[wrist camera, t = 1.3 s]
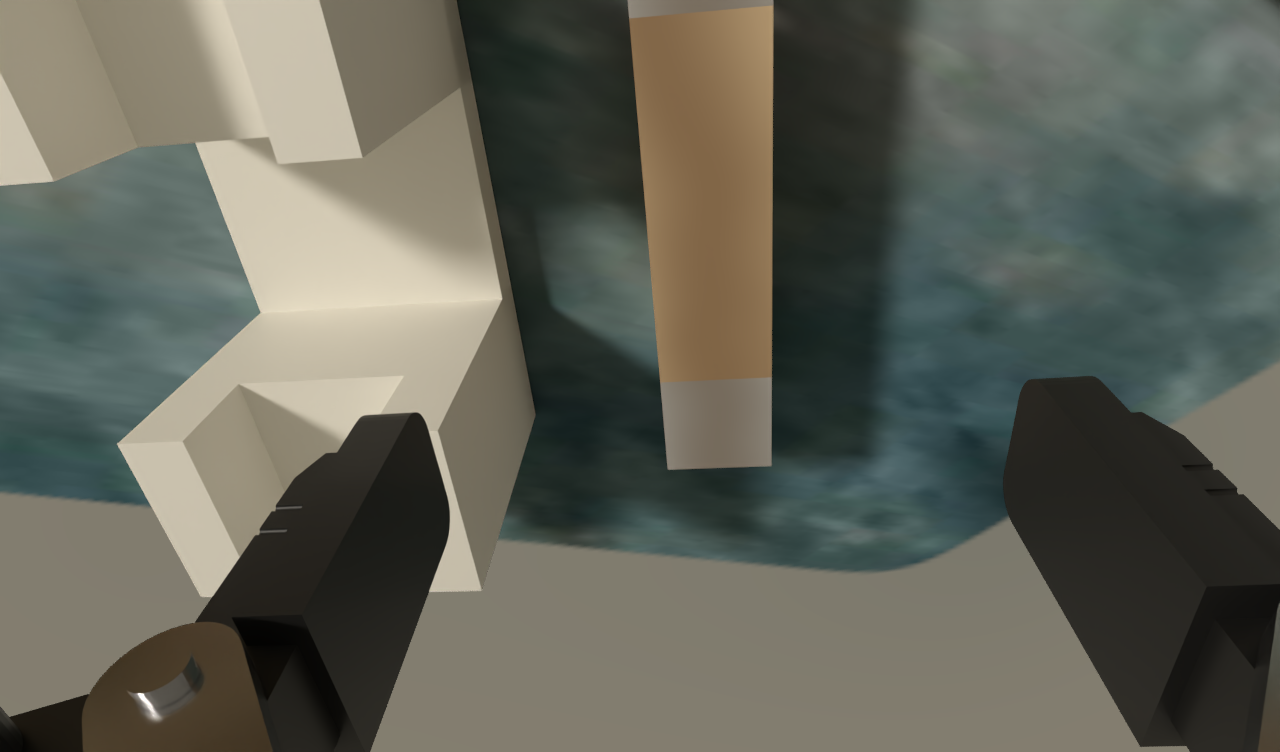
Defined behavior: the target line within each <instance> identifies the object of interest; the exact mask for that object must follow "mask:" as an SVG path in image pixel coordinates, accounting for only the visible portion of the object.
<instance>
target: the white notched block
mask: <svg viewBox="0 0 1280 752" xmlns="http://www.w3.org/2000/svg"><path fill="white" fill-rule="evenodd" d="M186 143H196V146H197V149H198V151H199V154H200V156H201V159H202V161H203V164H204V167H205V169H206V172H207V174H208V177H209V180H210V182H211V185H212V187H213V190H214V193H215V195H216V198H217V200H218V203H219V206H220V208H221V211H222V213H223V216H224V219H225V221H226V224H227V226H228V229H229V232H230V234H231V237H232V239H233V242H234V244H235V247H236V250H237V252H238V255H239V257H240V260H241V263H242V265H243V268H244V270H245V273H246V276H247V278H248V281H249V283H250V286H251V289H252V291H253V294H254V296H255V299H256V302H257V304H258V307H259V309H260V312H261V313H260V314H259V315H258V316H257V317H256V318H255V319H254V320H252V321H251V322H250V323H249V324H248V325H247V326H246V327H245V328H244V329H243V330H242V331H240V332H239V333H238V334H237V335H236V336H235V337H234V338H233V339H232V340H231V341H229V342H228V343H227V344H226V345H225V346H224V347H223V348H222V349H221V350H220V351H219V352H217V353H216V354H215V355H214V356H213V357H212V358H211V359H210V360H209V361H208V362H206V363H205V364H204V365H203V366H202V367H201V368H200V369H199V370H198V371H197V372H196V373H194V374H193V375H192V376H191V377H190V378H189V379H188V380H187V381H186V382H185V383H183V384H182V385H181V386H180V387H179V388H178V389H177V390H176V391H175V392H174V393H172V394H171V395H170V396H169V397H168V398H167V399H166V400H165V401H164V402H163V403H162V404H160V405H159V406H158V407H157V408H156V409H155V410H154V411H153V412H152V413H151V414H149V415H148V416H147V417H146V418H145V419H144V420H143V421H142V422H141V423H140V424H139V425H137V426H136V427H135V428H134V429H133V430H132V431H131V432H130V433H129V434H128V435H126V436H125V437H124V438H123V439H122V440H121V441H120V442H119V443H118V444H117V445H118V447H119V448H120V450H121V452H122V454H123V456H124V458H125V459H126V461H127V463H128V465H129V467H130V468H131V470H132V472H133V474H134V476H135V478H136V479H137V481H138V483H139V485H140V487H141V488H142V490H143V492H144V494H145V496H146V498H147V499H148V501H149V503H150V505H151V507H152V508H153V510H154V512H155V514H156V516H157V517H158V519H159V521H160V523H161V525H162V527H163V528H164V530H165V532H166V534H167V536H168V537H169V539H170V541H171V543H172V545H173V546H174V548H175V550H176V552H177V554H178V556H179V558H180V559H181V561H182V563H183V565H184V567H185V568H186V570H187V572H188V574H189V576H190V577H191V579H192V581H193V583H194V584H195V587H196V588H197V590H198V592H199V594H200V596H201V597H213V595H214V594H215V592H216V591H217V590H218V588H219V587H220V585H221V584H222V582H223V581H224V579H225V578H226V577H227V575H228V574H229V572H230V571H231V569H232V568H233V566H234V565H235V564H236V562H237V561H238V559H239V558H240V556H241V555H242V553H243V552H244V550H245V549H246V548H247V546H248V545H249V543H250V542H251V540H252V539H253V537H254V536H255V535H259V534H260V530H259V529H260V527H261V526H262V524H263V523H264V521H265V520H266V519H267V517H268V516H269V514H270V513H271V511H275V510H276V504H277V503H278V501H279V500H280V498H281V497H282V495H283V494H284V493H285V491H286V490H287V488H288V487H289V485H290V484H291V482H292V481H293V479H294V478H295V477H296V476H298V475H299V474H300V473H301V472H303V471H304V470H305V469H306V468H308V467H309V466H310V465H311V464H313V463H314V462H315V461H316V460H318V459H319V458H320V457H322V456H323V455H324V454H325V453H337V452H338V450H339V448H340V447H341V445H342V444H343V442H344V441H345V439H346V438H347V436H348V434H349V433H350V431H351V430H352V428H353V427H354V425H355V424H356V422H357V421H358V419H359V418H360V417H362V416H364V415H376V414H393V413H411V412H417V413H419V414H421V415H422V417H423V418H424V420H425V422H426V424H427V427H428V430H429V434H430V437H431V441H432V444H433V448H434V451H435V455H436V458H437V462H438V465H439V469H440V472H441V476H442V479H443V483H444V487H445V490H446V494H447V497H448V502H449V509H450V528H449V536H448V540H447V544H446V547H445V549H444V552H443V555H442V558H441V560H440V563H439V566H438V568H437V571H436V574H435V577H434V579H433V582H432V585H431V587H430V590H429V592H448V591H449V592H450V591H482V589H483V585H484V582H485V579H486V576H487V572H488V569H489V566H490V562H491V559H492V556H493V553H494V550H495V546H496V543H497V540H498V536H499V533H500V530H501V527H502V523H503V520H504V517H505V514H506V510H507V507H508V504H509V501H510V497H511V494H512V491H513V487H514V484H515V481H516V478H517V474H518V471H519V468H520V465H521V461H522V458H523V455H524V451H525V448H526V445H527V442H528V438H529V435H530V432H531V429H532V425H533V422H534V419H535V416H536V414H535V409H534V403H533V398H532V393H531V388H530V383H529V377H528V372H527V367H526V362H525V356H524V351H523V346H522V341H521V335H520V330H519V325H518V320H517V314H516V309H515V304H514V299H513V293H512V288H511V283H510V278H509V273H508V267H507V262H506V257H505V252H504V246H503V241H502V236H501V231H500V225H499V220H498V215H497V210H496V204H495V199H494V194H493V189H492V183H491V178H490V173H489V168H488V162H487V157H486V152H485V147H484V142H483V136H482V131H481V126H480V121H479V115H478V110H477V105H476V100H475V94H474V89H473V84H472V79H471V73H470V68H469V63H468V58H467V52H466V47H465V42H464V37H463V32H462V26H461V21H460V16H459V11H458V5H457V0H0V185H14V184H27V183H40V182H53V181H56V180H59V179H61V178H64V177H66V176H69V175H71V174H74V173H76V172H79V171H81V170H83V169H86V168H88V167H91V166H93V165H96V164H98V163H101V162H103V161H106V160H108V159H111V158H113V157H115V156H118V155H120V154H123V153H125V152H128V151H130V150H133V149H135V148H138V147H149V146H161V145H174V144H186Z"/></svg>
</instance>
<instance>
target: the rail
mask: <svg viewBox="0 0 1280 752" xmlns="http://www.w3.org/2000/svg"><path fill="white" fill-rule="evenodd" d="M628 11H629V23H630V34H631V46H632V58H633V69H634V81H635V93H636V105H637V116H638V128H639V140H640V151H641V163H642V175H643V186H644V198H645V210H646V221H647V233H648V245H649V257H650V268H651V280H652V292H653V303H654V315H655V327H656V338H657V350H658V362H659V373H660V385H661V397H662V409H663V420H664V432H665V444H666V455H667V467H668V470H677V469H704V468H731V467H758V466H771V445H772V211H773V0H628Z"/></svg>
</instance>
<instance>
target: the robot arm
mask: <svg viewBox="0 0 1280 752" xmlns="http://www.w3.org/2000/svg"><path fill="white" fill-rule="evenodd" d="M1003 490H1004V499H1005V504H1006V508H1007V512H1008V515H1009V517H1010V520H1011V522H1012V524H1013V525H1014V527H1015V529H1016V531H1017V532H1018V534H1019V536H1020V538H1021V539H1022V541H1023V543H1024V544H1025V546H1026V548H1027V550H1028V551H1029V553H1030V555H1031V557H1032V558H1033V560H1034V562H1035V564H1036V566H1037V567H1038V569H1039V571H1040V572H1041V574H1042V576H1043V578H1044V579H1045V581H1046V583H1047V585H1048V586H1049V588H1050V590H1051V591H1052V593H1053V595H1054V597H1055V599H1056V600H1057V602H1058V604H1059V606H1060V607H1061V609H1062V611H1063V612H1064V614H1065V616H1066V618H1067V619H1068V621H1069V623H1070V625H1071V627H1072V628H1073V630H1074V632H1075V634H1076V635H1077V637H1078V639H1079V640H1080V642H1081V644H1082V646H1083V648H1084V649H1085V651H1086V653H1087V654H1088V656H1089V658H1090V660H1091V661H1092V663H1093V665H1094V667H1095V668H1096V670H1097V672H1098V674H1099V675H1100V677H1101V679H1102V681H1103V682H1104V684H1105V686H1106V688H1107V689H1108V691H1109V693H1110V694H1111V696H1112V698H1113V700H1114V702H1115V703H1116V705H1117V707H1118V709H1119V710H1120V712H1121V714H1122V715H1123V717H1124V719H1125V721H1126V722H1127V724H1128V726H1129V728H1130V729H1131V731H1132V733H1133V735H1134V736H1135V738H1136V740H1137V742H1138V743H1139V745H1140V747H1147V746H1148V747H1149V746H1187V748H1188V749H1189V751H1190V752H1280V530H1279V529H1278V528H1277V527H1276V526H1275V525H1274V524H1273V523H1272V522H1271V521H1270V520H1269V519H1268V518H1267V517H1266V516H1265V515H1264V514H1263V513H1262V512H1261V511H1260V510H1259V509H1258V508H1257V507H1256V506H1255V505H1254V504H1253V503H1252V502H1251V501H1250V500H1249V499H1248V498H1247V497H1246V496H1245V495H1243V494H1242V495H1238V493H1237V488H1236V486H1235V485H1234V484H1232V483H1231V482H1230V481H1229V480H1228V479H1227V478H1226V477H1225V476H1224V475H1223V474H1222V473H1221V472H1220V471H1219V470H1213V464H1212V463H1211V462H1210V461H1209V460H1208V459H1207V458H1206V457H1205V456H1204V455H1203V454H1202V453H1201V452H1200V451H1199V450H1198V449H1197V448H1196V447H1195V446H1194V445H1193V444H1192V443H1191V442H1190V441H1189V440H1188V439H1187V438H1186V437H1185V436H1184V435H1182V434H1180V433H1179V432H1177V431H1175V430H1173V429H1171V428H1170V427H1168V426H1166V425H1164V424H1162V423H1160V422H1159V421H1157V420H1155V419H1153V418H1151V417H1150V416H1148V415H1146V414H1144V413H1142V412H1136V413H1131V412H1130V411H1129V410H1128V409H1127V408H1126V407H1125V406H1124V405H1123V404H1122V403H1121V401H1120V400H1119V399H1118V398H1117V397H1116V396H1115V395H1114V394H1113V393H1112V392H1111V391H1110V390H1109V389H1108V388H1107V387H1106V386H1105V385H1104V384H1103V383H1102V382H1101V381H1100V380H1099V379H1098V378H1096V377H1093V376H1081V377H1063V378H1045V379H1031V380H1028V381H1027V382H1026V383H1025V384H1024V386H1023V387H1022V390H1021V392H1020V396H1019V401H1018V406H1017V411H1016V416H1015V421H1014V426H1013V431H1012V436H1011V441H1010V446H1009V451H1008V456H1007V461H1006V466H1005V471H1004V478H1003ZM449 528H450V509H449V502H448V497H447V494H446V490H445V487H444V483H443V479H442V476H441V472H440V469H439V465H438V462H437V458H436V455H435V451H434V448H433V444H432V441H431V437H430V434H429V430H428V427H427V424H426V422H425V420H424V418H423V417H422V415H421V414H419V413H417V412H411V413H393V414H376V415H364V416H362V417H360V418H359V419H358V421H357V422H356V424H355V425H354V427H353V428H352V430H351V431H350V433H349V434H348V436H347V438H346V439H345V441H344V442H343V444H342V445H341V447H340V448H339V450H338V452H337V453H325V454H324V455H323V456H322V457H320V458H319V459H318V460H316V461H315V462H314V463H313V464H311V465H310V466H309V467H308V468H306V469H305V470H304V471H303V472H301V473H300V474H299V475H298V476H296V477H295V478H294V479H293V481H292V482H291V484H290V485H289V487H288V488H287V490H286V491H285V493H284V494H283V495H282V497H281V498H280V500H279V501H278V503H277V504H276V510H275V511H271V513H270V514H269V516H268V517H267V519H266V520H265V521H264V523H263V524H262V526H261V527H260V529H259V530H260V534H259V535H255V536H254V537H253V539H252V540H251V542H250V543H249V545H248V546H247V548H246V549H245V550H244V552H243V553H242V555H241V556H240V558H239V559H238V561H237V562H236V564H235V565H234V566H233V568H232V569H231V571H230V572H229V574H228V575H227V577H226V578H225V579H224V581H223V582H222V584H221V585H220V587H219V588H218V590H217V591H216V592H215V594H214V595H213V597H212V598H211V600H210V601H209V603H208V604H207V606H206V607H205V608H204V610H203V611H202V613H201V614H200V616H199V617H198V619H197V620H196V622H195V623H190V624H185V625H181V626H178V627H175V628H171V629H169V630H166V631H164V632H161V633H159V634H157V635H155V636H153V637H151V638H149V639H147V640H145V641H144V642H142V643H140V644H139V645H137V646H136V647H134V648H132V649H131V650H130V651H128V652H127V653H126V654H124V655H123V656H122V657H120V658H119V659H118V660H117V661H116V662H115V663H114V664H113V665H112V666H110V668H108V670H107V671H106V672H105V673H104V674H103V675H102V676H101V677H100V678H99V680H98V681H97V683H96V684H95V685H94V687H93V688H92V690H91V692H90V694H87V695H83V696H80V697H77V698H73V699H70V700H66V701H63V702H60V703H56V704H53V705H49V706H46V707H42V708H39V709H36V710H32V711H29V712H26V713H22V714H18V715H15V716H11V717H9V716H8V715H7V714H6V713H5V712H4V710H3V709H2V708H1V707H0V752H370V750H371V747H372V745H373V742H374V739H375V737H376V734H377V731H378V729H379V726H380V723H381V720H382V718H383V715H384V712H385V710H386V707H387V704H388V701H389V698H390V696H391V693H392V690H393V688H394V685H395V682H396V680H397V677H398V674H399V672H400V669H401V666H402V663H403V661H404V658H405V655H406V652H407V650H408V647H409V644H410V642H411V639H412V636H413V634H414V631H415V628H416V625H417V623H418V620H419V617H420V614H421V612H422V609H423V606H424V604H425V601H426V598H427V595H428V593H429V590H430V587H431V585H432V582H433V579H434V577H435V574H436V571H437V568H438V566H439V563H440V560H441V558H442V555H443V552H444V549H445V547H446V544H447V540H448V536H449Z"/></svg>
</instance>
